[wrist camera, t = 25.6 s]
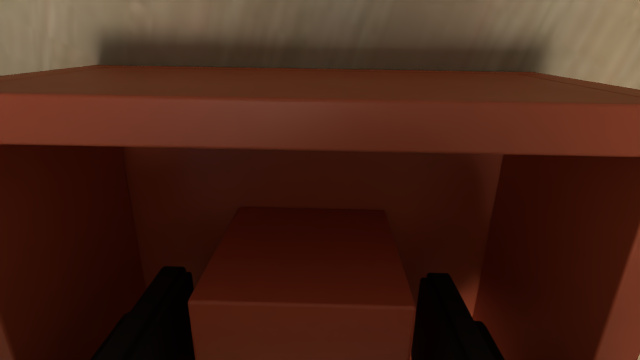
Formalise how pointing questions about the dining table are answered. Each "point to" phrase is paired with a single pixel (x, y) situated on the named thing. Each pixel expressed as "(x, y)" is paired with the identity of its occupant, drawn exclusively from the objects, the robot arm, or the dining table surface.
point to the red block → (303, 289)
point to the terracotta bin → (322, 191)
